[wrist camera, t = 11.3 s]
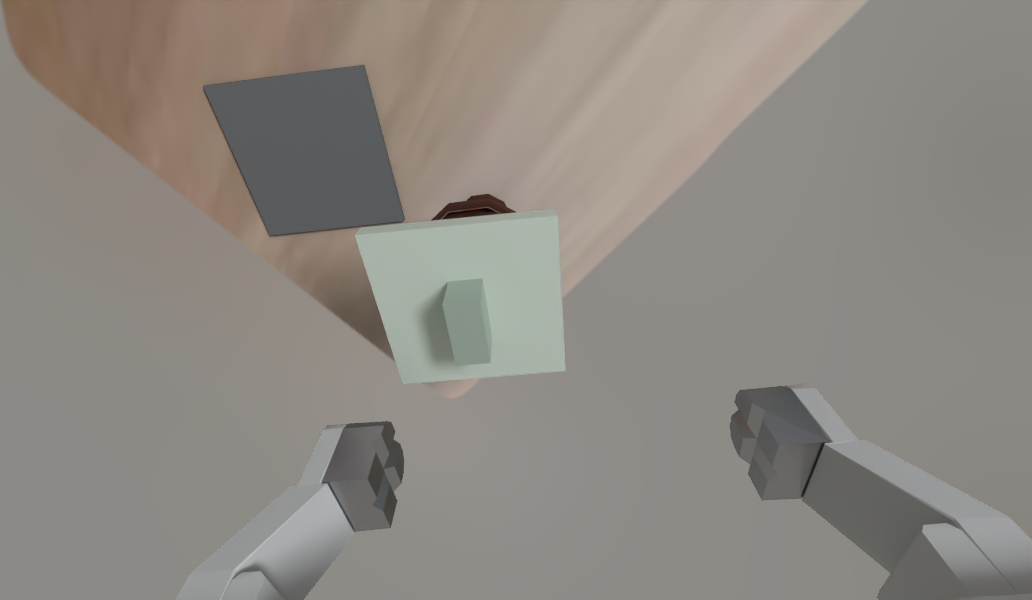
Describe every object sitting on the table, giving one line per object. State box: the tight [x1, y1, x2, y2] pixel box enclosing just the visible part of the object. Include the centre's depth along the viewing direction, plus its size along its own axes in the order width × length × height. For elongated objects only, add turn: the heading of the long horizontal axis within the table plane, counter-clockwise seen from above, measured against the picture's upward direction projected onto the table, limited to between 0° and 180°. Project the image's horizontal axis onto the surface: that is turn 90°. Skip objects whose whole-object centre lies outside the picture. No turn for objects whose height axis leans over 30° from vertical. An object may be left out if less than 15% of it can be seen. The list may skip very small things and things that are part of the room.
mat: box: [203, 65, 405, 236], centre depth 41 cm, size 14×14×1 cm
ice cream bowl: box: [431, 194, 516, 221], centre depth 39 cm, size 11×11×15 cm
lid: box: [355, 209, 565, 384], centre depth 31 cm, size 13×13×4 cm
